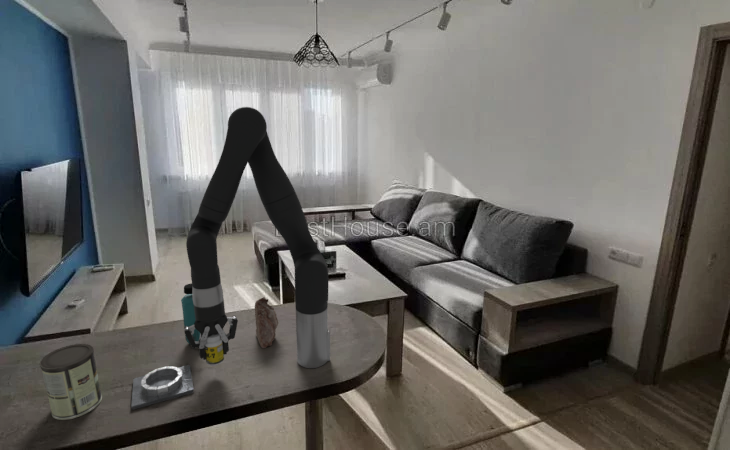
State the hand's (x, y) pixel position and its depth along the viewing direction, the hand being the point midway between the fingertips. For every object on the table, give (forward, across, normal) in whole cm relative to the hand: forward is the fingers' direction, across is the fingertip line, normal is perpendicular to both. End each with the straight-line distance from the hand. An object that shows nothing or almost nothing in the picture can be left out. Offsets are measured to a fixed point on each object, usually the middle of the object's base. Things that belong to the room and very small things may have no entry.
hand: (214, 355), depth 107 cm
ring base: (+6, -14, 0) cm, 15 cm away
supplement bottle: (+2, 0, 0) cm, 2 cm away
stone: (+6, +18, +11) cm, 22 cm away
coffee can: (+5, -32, +3) cm, 33 cm away
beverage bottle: (+6, -3, +19) cm, 21 cm away
